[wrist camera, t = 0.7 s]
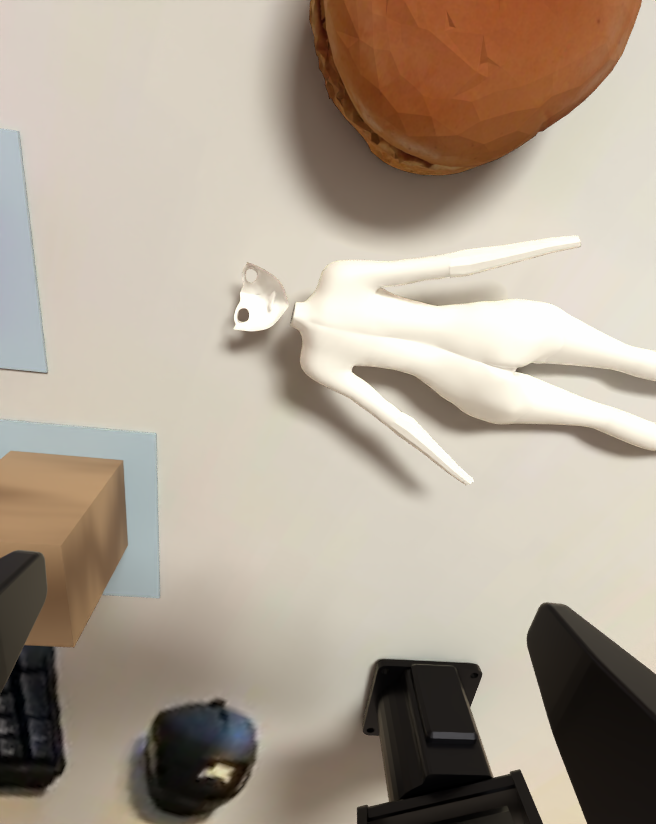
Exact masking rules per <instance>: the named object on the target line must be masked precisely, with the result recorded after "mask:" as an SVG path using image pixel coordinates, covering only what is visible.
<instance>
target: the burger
mask: <svg viewBox="0 0 656 824" xmlns="http://www.w3.org/2000/svg"><path fill="white" fill-rule="evenodd" d="M641 2H642V0H311V1H310V15H309V20H310V24H311V27H312V31H313V35H314V44H315V50H316V55H317V56H318V58H319V69H320V71H321V72H322V74H323V76H324V78H325V84H326V89H327V91H328V94H329V99H330V98H332V100H333V102H334V104H335V105H336V107H337V108H338V109H339V110H340V112H341V113H342V114H343V116H344V117H345V118H346V120H347V121H348V122H349V123H350V124H351V125H353V126H354V128H355V129H356V130H357V131H358V132H359V133H360V134H361V136H362V137H363V138H364V139H365V141H366V142H367V143H368V146H369V148H370V150H371V152H372V153H374V154H375V155H376V156H377V157H378V158H379V159H381V160H382V161H383V162H385V163H387V164H388V165H390V166H392V167H394V168H397V169H400V170H403V171H406V172H410V173H415V174H420V175H449V174H455V173H460V172H463V171H466V170H469V169H472V168H474V167H477V166H480V165H483V164H485V163H488V162H491V161H494V160H496V159H499V158H501V157H502V156H504V155H506V154H508V153H509V152H511V151H513V150H514V149H516V148H518V147H520V146H521V145H523V144H524V143H525V142H527V141H528V140H530V139H531V138H533V137H534V136H536V134H537V133H538V132H541V131H544V130H545V129H547V128H548V127H550V126H551V125H552V124H554V123H555V122H557V121H558V120H560V119H561V118H563V117H564V116H566V115H567V114H569V113H570V112H571V111H572V110H573V109H575V108H576V107H577V106H578V105H580V104H581V103H582V102H583V101H584V100H585V99H586V98H587V97H588V96H589V95H590V94H591V93H592V92H594V91H595V90H596V88H597V87H598V86H599V85H600V84H601V83H602V82H603V80H604V79H605V78H606V77H607V76H608V75H609V74H610V73H611V71H612V70H613V68H614V67H615V65H616V64H617V62H618V60H619V59H620V57H621V56H622V54H623V51H624V49H625V46H626V44H627V41H628V39H629V36H630V34H631V32H632V29H633V27H634V24H635V21H636V18H637V15H638V12H639V9H640V7H641Z"/></svg>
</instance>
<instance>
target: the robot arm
mask: <svg viewBox="0 0 656 824" xmlns="http://www.w3.org/2000/svg"><path fill="white" fill-rule="evenodd" d="M46 596H47V577H46V565H45V558H44V555H43V554H42V553H40V552H36V551H26V550H16V551H13V552H11V553H9V554H7V555H5V556H3V557H1V558H0V694H1V692H2V690H3V688H4V686H5V684H6V682H7V680H8V678H9V676H10V674H11V672H12V669H13V667H14V665H15V663H16V661H17V659H18V657H19V655H20V653H21V651H22V649H23V647H24V644H25V642H26V640H27V638H28V636H29V634H30V632H31V630H32V628H33V626H34V624H35V622H36V619H37V617H38V615H39V613H40V611H41V609H42V607H43V605H44V603H45V600H46ZM527 647H528V651H529V654H530V658H531V661H532V665H533V668H534V671H535V675H536V678H537V682H538V685H539V689H540V692H541V696H542V699H543V703H544V706H545V710H546V713H547V717H548V720H549V723H550V726H551V729H552V732H553V735H554V738H555V741H556V744H557V746H558V749H559V752H560V754H561V757H562V760H563V762H564V765H565V767H566V770H567V772H568V775H569V778H570V780H571V783H572V785H573V788H574V791H575V793H576V796H577V798H578V801H579V804H580V806H581V809H582V811H583V814H584V817H585V819H586V822H587V824H656V674H655V673H654V672H652V671H651V670H650V669H648V668H647V667H646V666H645V665H643V664H642V663H641V662H639V661H638V660H637V659H635V658H634V657H633V656H632V655H630V654H629V653H628V652H626V651H625V650H624V649H622V648H621V647H620V646H619V645H617V644H616V643H615V642H613V641H612V640H611V639H609V638H608V637H607V636H606V635H604V634H603V633H602V632H600V631H599V630H598V629H597V628H595V627H594V626H593V625H591V624H590V623H589V622H587V621H586V620H585V619H584V618H582V617H581V616H580V615H578V614H577V613H576V612H574V611H573V610H572V609H571V608H569V607H568V606H566V605H564V604H557V603H543V604H542V605H540V607H539V609H538V611H537V613H536V615H535V617H534V620H533V622H532V624H531V626H530V628H529V631H528V634H527ZM481 677H482V672H481V669H480V667H479V666H478V665H477V664H466V663H445V662H424V661H404V660H381V661H379V662H378V663H377V665H376V669H375V673H374V677H373V681H372V685H371V690H370V694H369V698H368V702H367V706H366V710H365V715H364V719H363V723H362V726H363V732H364V734H366V735H377V736H380V742H381V749H382V756H383V763H384V770H385V777H386V784H387V791H388V798H389V802H387V803H383V804H379V805H374V806H370V807H368V805H364V806H360V807H357V824H543V823H542V820H541V818H540V815H539V813H538V811H537V808H536V806H535V803H534V801H533V799H532V796H531V794H530V792H529V789H528V787H527V784H526V782H525V780H524V777H523V775H522V773H521V770H520V769H519V770H515V771H511V772H510V774H508V775H503V776H499V777H495V778H493V775H492V772H491V769H490V766H489V763H488V760H487V757H486V754H485V751H484V748H483V745H482V742H481V739H480V736H479V733H478V730H477V727H476V724H475V721H474V718H473V715H472V712H471V709H470V706H471V704H472V701H473V699H474V696H475V693H476V691H477V688H478V685H479V683H480V680H481Z"/></svg>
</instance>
